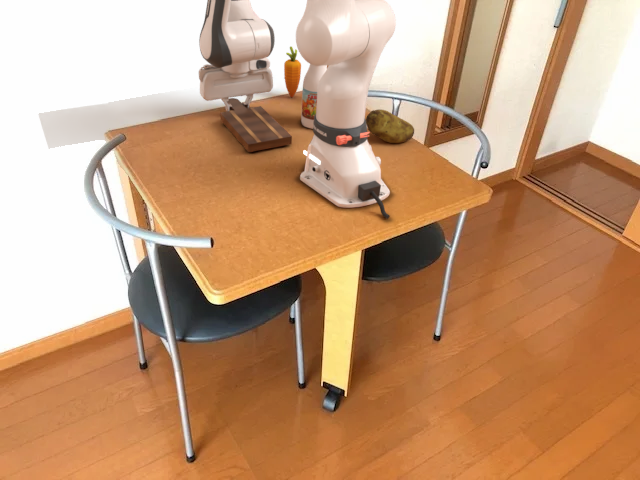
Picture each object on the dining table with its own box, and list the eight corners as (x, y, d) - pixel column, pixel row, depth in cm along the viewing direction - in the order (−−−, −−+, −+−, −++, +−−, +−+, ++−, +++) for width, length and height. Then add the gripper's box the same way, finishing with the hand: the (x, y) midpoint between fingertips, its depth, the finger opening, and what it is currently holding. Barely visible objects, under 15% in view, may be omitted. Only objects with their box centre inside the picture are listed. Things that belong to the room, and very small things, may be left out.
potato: (408, 151, 145) (413, 122, 140) (361, 141, 147) (364, 113, 142) (414, 137, 151) (418, 110, 146) (368, 129, 154) (371, 102, 149)
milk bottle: (296, 119, 156) (299, 48, 144) (321, 116, 159) (325, 46, 147) (307, 131, 150) (311, 58, 138) (333, 127, 153) (338, 55, 141)
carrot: (299, 101, 166) (301, 51, 157) (282, 100, 166) (283, 50, 157) (300, 94, 170) (302, 45, 161) (284, 93, 170) (285, 44, 161)
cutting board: (291, 146, 143) (292, 135, 141) (248, 155, 138) (248, 144, 136) (250, 105, 162) (249, 95, 160) (210, 111, 157) (210, 100, 155)
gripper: (202, 69, 140) (205, 120, 148) (275, 60, 148) (275, 109, 157) (194, 61, 144) (198, 111, 153) (266, 53, 153) (266, 100, 161)
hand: (237, 110), depth 155 cm, fingers closed on cutting board, 3 cm apart
